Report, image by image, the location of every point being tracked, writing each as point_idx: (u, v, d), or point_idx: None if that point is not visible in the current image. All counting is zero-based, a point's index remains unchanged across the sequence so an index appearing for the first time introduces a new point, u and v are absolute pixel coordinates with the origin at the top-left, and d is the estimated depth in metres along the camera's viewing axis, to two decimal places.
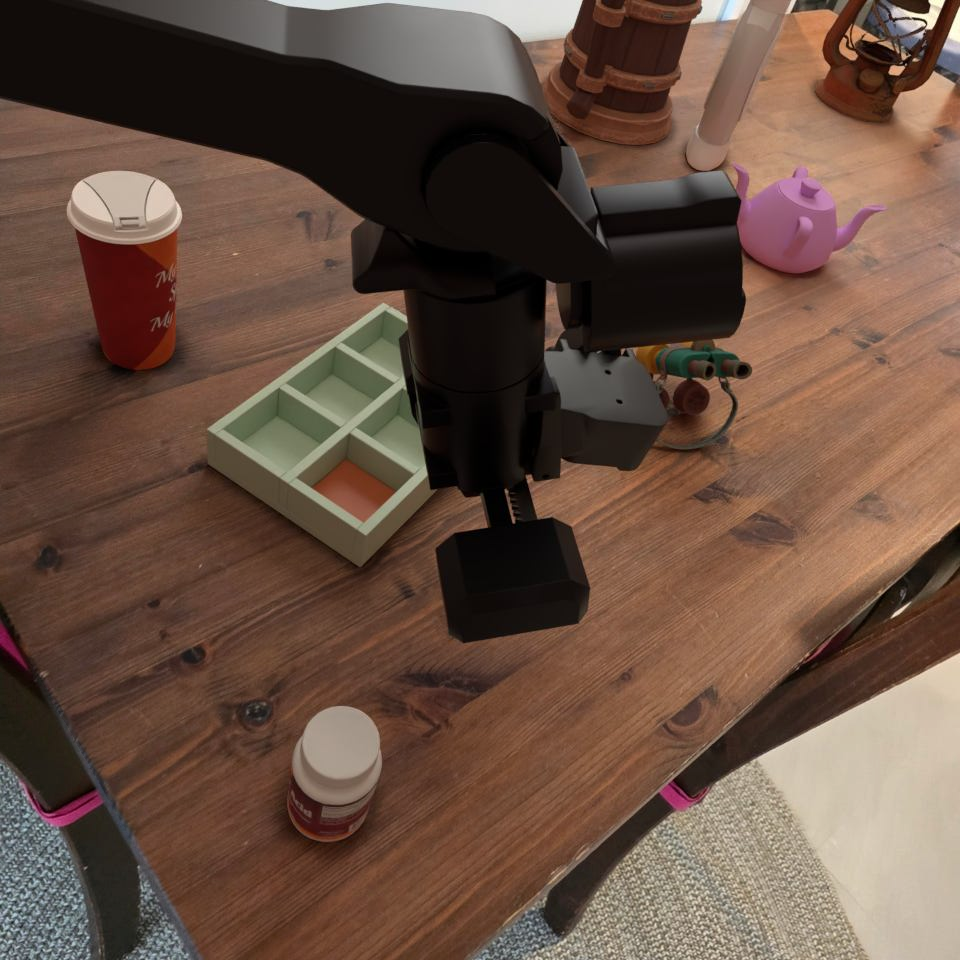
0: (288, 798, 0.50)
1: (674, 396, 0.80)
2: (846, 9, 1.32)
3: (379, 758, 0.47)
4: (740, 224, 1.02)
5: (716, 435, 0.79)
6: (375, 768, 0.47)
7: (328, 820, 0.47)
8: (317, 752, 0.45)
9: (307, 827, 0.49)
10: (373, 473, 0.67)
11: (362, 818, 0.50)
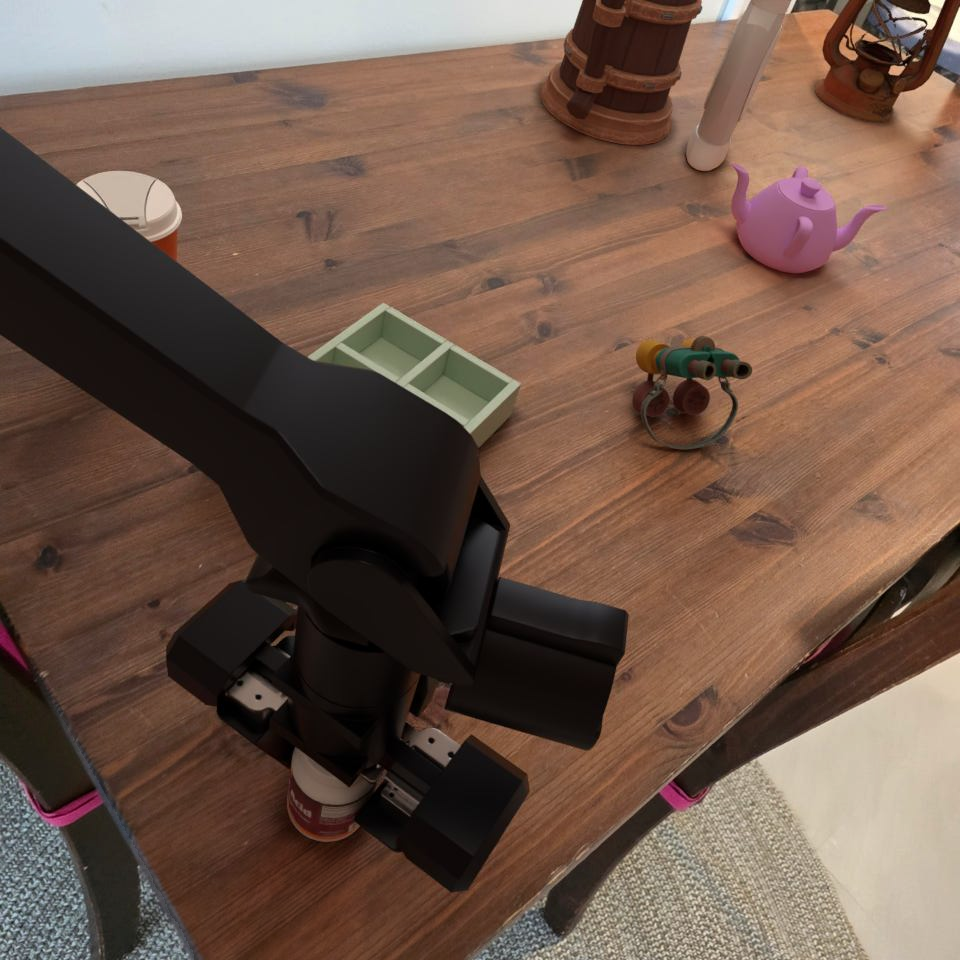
0: (288, 798, 0.50)
1: (674, 396, 0.80)
2: (846, 9, 1.32)
3: None
4: (740, 224, 1.02)
5: (716, 435, 0.79)
6: None
7: (328, 820, 0.47)
8: None
9: (307, 827, 0.49)
10: None
11: None
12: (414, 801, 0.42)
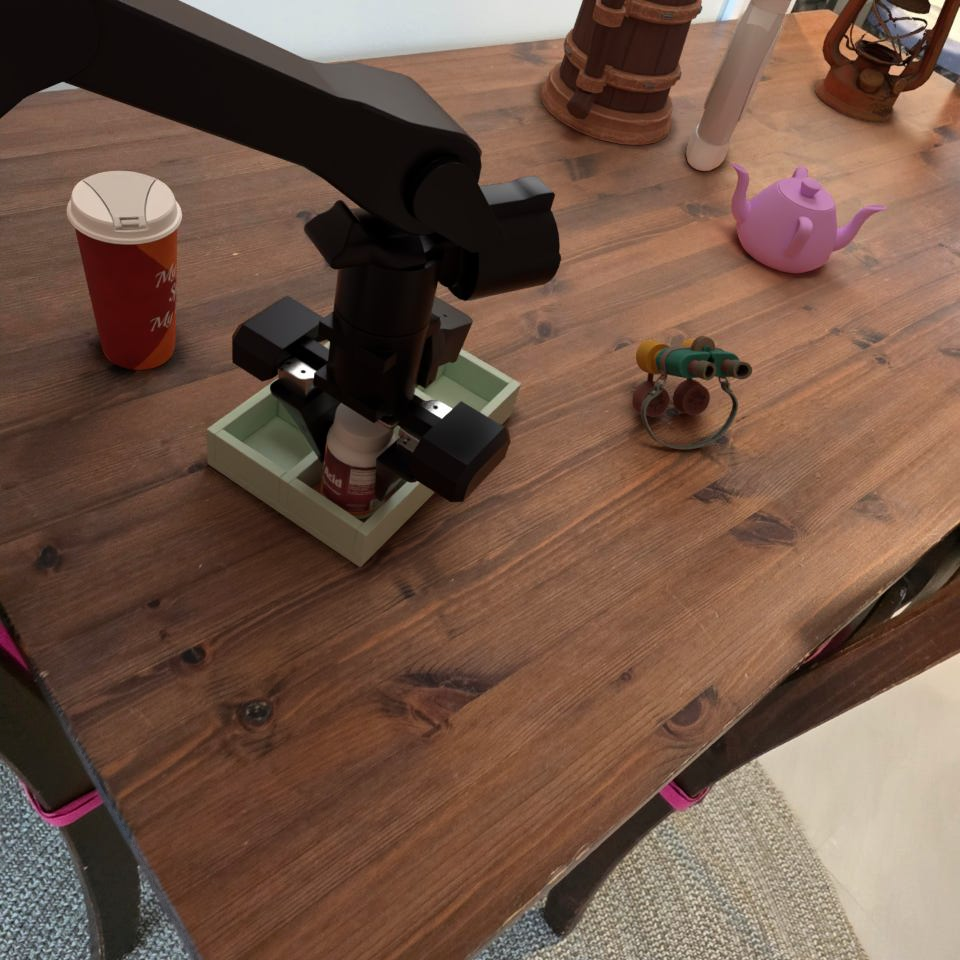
0: (322, 483, 0.63)
1: (674, 396, 0.80)
2: (846, 9, 1.32)
3: (394, 440, 0.61)
4: (740, 224, 1.02)
5: (716, 435, 0.79)
6: None
7: (354, 488, 0.61)
8: (347, 421, 0.58)
9: (337, 502, 0.62)
10: None
11: None
12: None
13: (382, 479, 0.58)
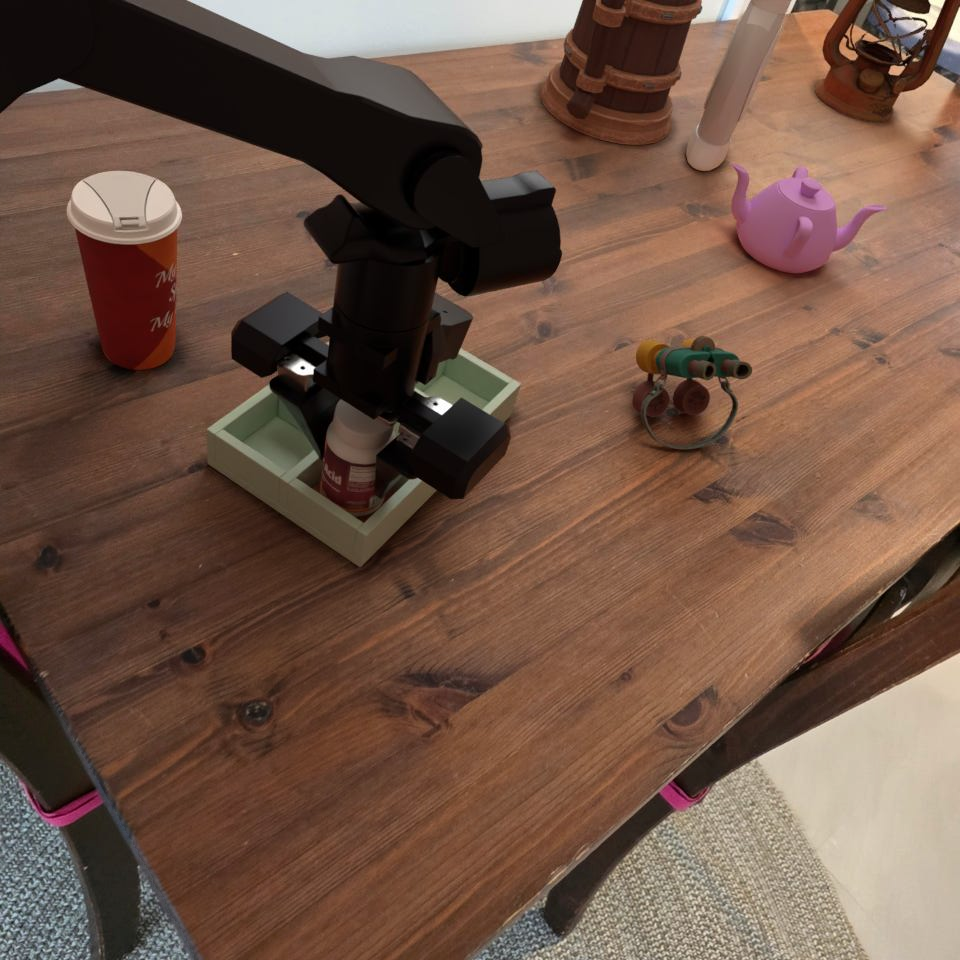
0: (321, 480, 0.63)
1: (674, 396, 0.80)
2: (846, 9, 1.32)
3: (394, 436, 0.61)
4: (740, 224, 1.02)
5: (716, 435, 0.79)
6: None
7: (354, 485, 0.61)
8: (347, 417, 0.58)
9: (337, 499, 0.62)
10: None
11: None
12: None
13: (382, 476, 0.58)
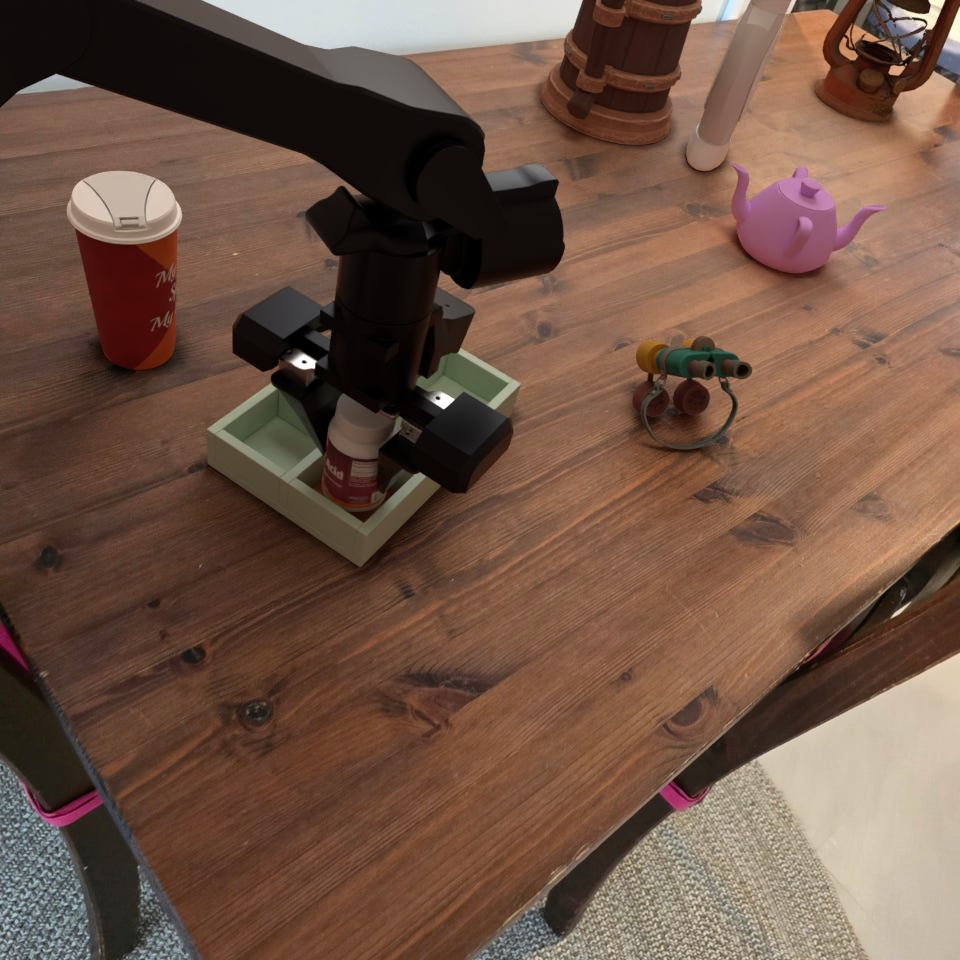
0: (323, 476, 0.63)
1: (674, 396, 0.80)
2: (846, 9, 1.32)
3: (396, 431, 0.60)
4: (740, 224, 1.02)
5: (716, 435, 0.79)
6: None
7: (356, 480, 0.60)
8: (349, 412, 0.58)
9: (339, 494, 0.62)
10: None
11: None
12: None
13: (384, 471, 0.58)
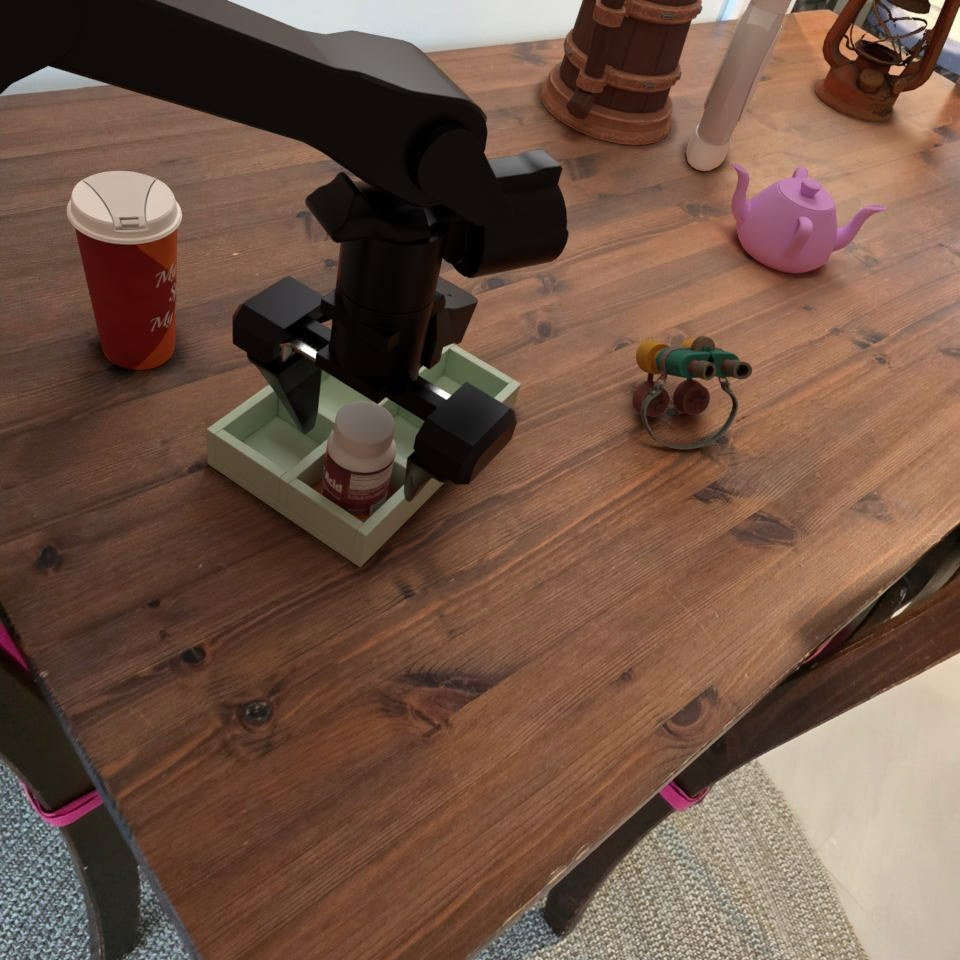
0: (322, 488, 0.64)
1: (674, 396, 0.80)
2: (846, 9, 1.32)
3: (394, 444, 0.61)
4: (740, 224, 1.02)
5: (716, 435, 0.79)
6: (391, 450, 0.61)
7: (354, 492, 0.61)
8: (347, 427, 0.59)
9: None
10: None
11: (380, 504, 0.64)
12: None
13: (412, 479, 0.57)
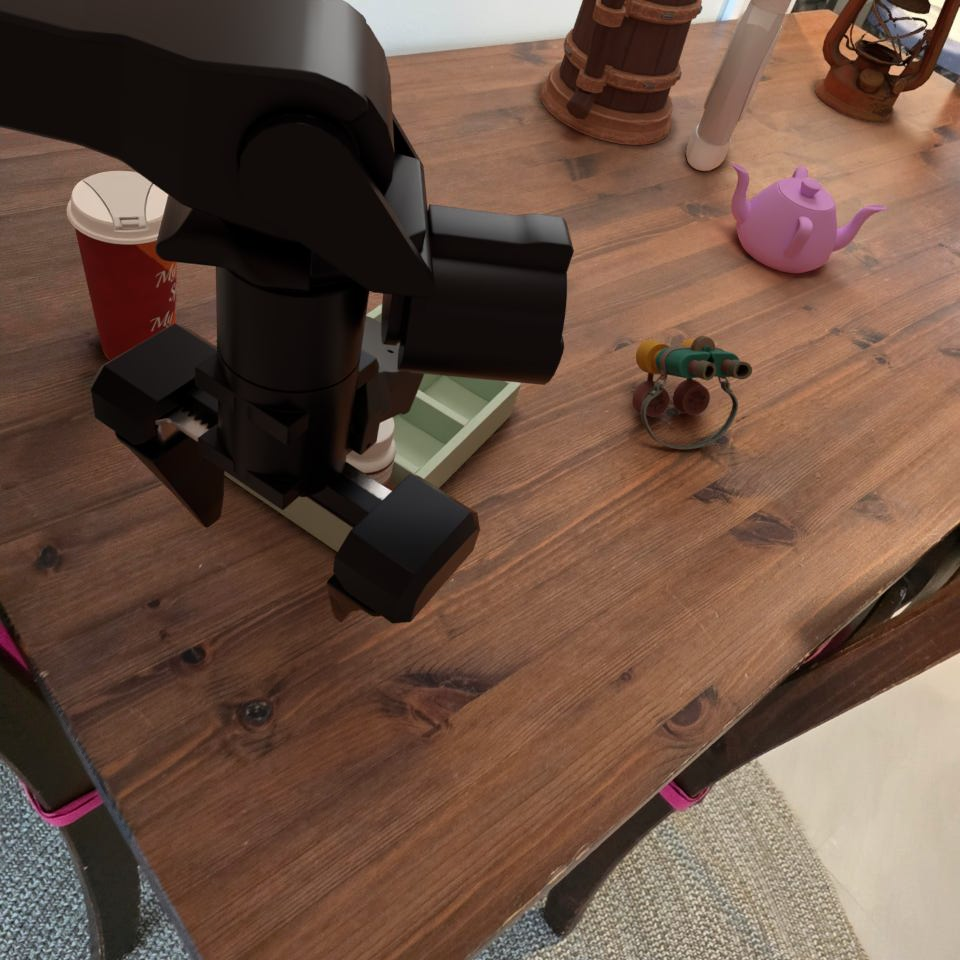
0: None
1: (674, 396, 0.80)
2: (846, 9, 1.32)
3: (393, 445, 0.61)
4: (740, 224, 1.02)
5: (716, 435, 0.79)
6: (391, 450, 0.61)
7: None
8: None
9: None
10: None
11: None
12: None
13: (338, 603, 0.41)
